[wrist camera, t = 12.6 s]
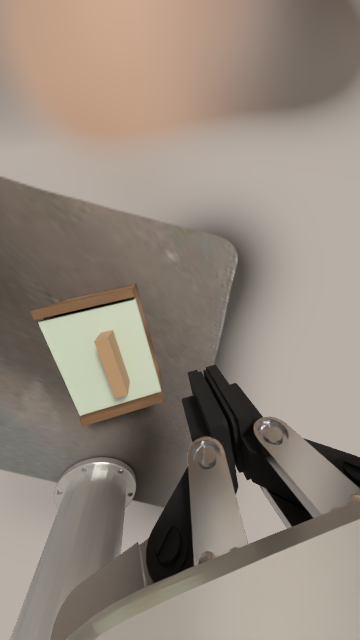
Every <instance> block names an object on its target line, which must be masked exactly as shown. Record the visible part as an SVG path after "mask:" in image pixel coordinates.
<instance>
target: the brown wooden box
mask: <svg viewBox="0 0 360 640" xmlns="http://www.w3.org/2000/svg"><path fill="white" fill-rule="evenodd" d="M135 298H136V301H137V305H138V308H139V312H140V315H141V319H142V322H143V326H144V330H145V333H146V337H147V340H148V344H149V347H150V351H151V355H152V358H153V362H154V365H155V369H156V372H157V376H158V379H159V383H160V387H161V392H158V393H155V394H151V395H148V396H145V397H141V398H138V399H135V400H131V401H128V402H125V403H121V404H118V405H114V406H111V407H108V408H104V409H101V410H98V411H94V412H91V413H88V414H84V415H82V417H81V419H80V422H81V425H82V427H83V426H86V425H89V424H93V423H96V422H99V421H103V420H106V419H109V418H112V417H116V416H119V415H122V414H125V413H129V412H132V411H135V410H139V409H142V408H145V407H148V406H152V405H155V404H158V403H162V402H164V399H163V392H162V385H161V378H160V370H159V366H158V362H157V359H156V355H155V351H154V348H153V344H152V341H151V337H150V333H149V330H148V326H147V322H146V319H145V315H144V311H143V308H142V304H141V300H140V297H139V293H138V290H137V286H136V284H134V285H130V286H125V287H121V288H116V289H112V290H107V291H103V292H98V293H94V294H90V295H85V296H81V297H76V298H72V299H67V300H64V301H61V302H58V303H55V304H52V305H49V306H46V307H43V308H39V309H36V310H33V311H30V313H31V315H32V317H33V319H34V320H37V319H41V318H43V319H44V320H45V319H49V318H53V317H58V316H62V315H66V314H71V313H75V312H79V311H83V310H88V309H92V308H96V307H100V306H105V305H109V304H113V303H118V302H122V301H126V300H130V299H135Z"/></svg>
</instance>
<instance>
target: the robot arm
mask: <svg viewBox="0 0 360 640" xmlns="http://www.w3.org/2000/svg"><path fill="white" fill-rule="evenodd" d="M203 372H204V376H203V374H202V372H198V371H197V370H195V371H191V372H188V376H189V380H190V385H191V389H192V394H193V396H190V397H187V398H183V399H182V403H183V407H184V411H185V415H186V419H187V423H188V427H189V430H190V434H191V438H192V442H193V443H192V444H191V445H190V447H189V450H188V467H187V469H186V471H185V473H184V474H183V476H182V478H181V480H180V482H179V483H178V485H177V487H176V489H175V491H174V492H173V494H172V496H171V498H170V499H169V501H168V503H167V505H166V507H165V508H164V510H163V512H162V514H161V516H160V517H159V519H158V521H157V523H156V525H155V526H154V528H153V530H152V532H151V534H150V537H149V538H148V539H147V540H146V541H144V542H143V543H142V544H140V545H139V544H138V542H137V543H136V544H134V545H133V546H132V547H130V548H129V549H128V550H126V551H125V552H123V553H122V554H120V553H121V543H122V531H123V521H124V510H125V507H126V506H127V505H128V504H129V503H130V502H131V501H132V499H133V497H134V495H135V491H136V477H135V474H134V472H133V470H132V469H131V468H130V467H129V466H128V465H127V464H125V463H124V462H122V461H120V460H117V459H114V458H107V457H97V458H91V459H87V460H84V461H81V462H79V463H77V464H75V465H73V466H72V467H70V468H69V469H68V470H66V471H65V472H64V473H63V475H62V476H61V477H60V479H59V481H58V483H57V485H56V488H55V491H54V502H55V505H56V506H57V508H58V512H57V515H56V517H55V520H54V523H53V525H52V528H51V531H50V534H49V536H48V539H47V541H46V544H45V547H44V550H43V552H42V555H41V558H40V560H39V563H38V566H37V568H36V571H35V574H34V576H33V579H32V582H31V585H30V587H29V590H28V592H27V595H26V598H25V600H24V603H23V606H22V608H21V611H20V614H19V617H18V619H17V622H16V625H15V627H14V630H13V633H12V636H11V638H10V640H360V457H357V456H355V455H352V454H349V453H346V452H343V451H340V450H337V449H333V448H331V447H328V446H325V445H322V444H319V443H316V442H313V441H310V440H307V439H304V438H302V437H301V436H300V435H299V434H297V433H296V432H295V431H294V430H293V429H292V428H291V427H290V426H288V425H287V424H286V423H285V422H283V421H282V420H279V419H277V418H274V417H262V415H261V414H260V413H259V411H258V410H257V409H256V408H255V406H254V405H253V404H252V402H251V401H250V400H249V399H248V397H247V396H246V395H245V394H244V392H243V391H242V390H241V388H240V387H239V386H238V385H237V384H236V383H234V384H231V385H229V383H228V382H227V381H226V379H225V378H224V376H223V375H222V374H221V372H220V371H219V369H218V368H217V366H216V365H212V366H209V367H206V370H204V371H203ZM204 377H205V378H204ZM235 465H236V467H237V469H238V471H239V472H243V473H244V475H245V477H246V479H247V480H249V479H252V481H253V482H254V483H256V484H258V485H260V487H261V489H262V491H263V493H264V494H265V496H266V498H267V499H268V500H269V502H270V504H271V505H272V506H273V508H274V510H275V511H276V513H277V514H278V515H279V517H280V519H281V520H282V522H283V523H284V525H285V526H286V528H287V529H285V530H283V531H280V532H278V533H275V534H273V535H271V536H268V537H265V538H263V539H260V540H258V541H255V542H253V543H250V544H248V541H247V537H246V533H245V529H244V526H243V522H242V518H241V514H240V510H239V506H238V502H237V498H236V492H237V489H238V482H237V476H236V469H235Z"/></svg>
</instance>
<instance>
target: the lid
mask: <svg viewBox="0 0 360 640" xmlns="http://www.w3.org/2000/svg"><path fill="white" fill-rule="evenodd" d="M38 323H39V326H40V328H41V330H42V332H43V335H44V337H45V339H46V341H47V343H48V346H49V348H50V350H51V352H52V355H53V357H54V359H55V361H56V363H57V366H58V368H59V370H60V372H61V375H62V377H63V379H64V381H65V383H66V386H67V388H68V390H69V392H70V395H71V397H72V399H73V401H74V403H75V406H76V408H77V410H78V412H79V415H80V416H81V415H84V414H88V413H91V412H94V411H98V410H101V409H104V408H108V407H111V406H114V405H118V404H121V403H125V402H128V401H131V400H135V399H138V398H141V397H145V396H148V395H151V394H155V393H158V392H161V387H160V383H159V379H158V376H157V372H156V369H155V365H154V362H153V358H152V355H151V351H150V347H149V344H148V340H147V337H146V333H145V330H144V326H143V322H142V319H141V315H140V312H139V308H138V305H137V301H136V298H135V299H130V300H126V301H122V302H118V303H113V304H109V305H105V306H100V307H96V308H92V309H88V310H83V311H79V312H75V313H71V314H66V315H62V316H58V317H53V318H49V319H45V320H42V321H39V322H38Z"/></svg>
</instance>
